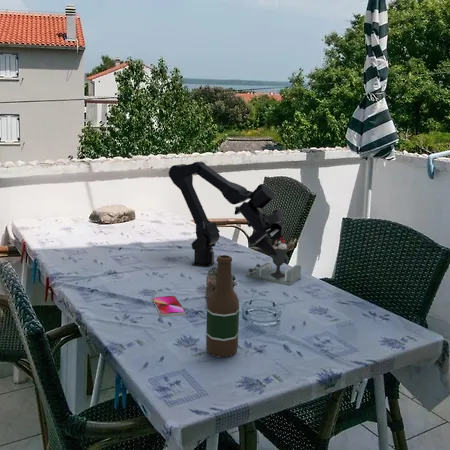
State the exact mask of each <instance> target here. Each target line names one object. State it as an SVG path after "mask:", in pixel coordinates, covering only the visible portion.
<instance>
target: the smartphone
mask: <svg viewBox="0 0 450 450" xmlns="http://www.w3.org/2000/svg"><path fill="white" fill-rule="evenodd" d="M151 301H152V302H154V303H153V304H155V305H154V306H155V308H156V310H157V312H158V314H159V315H160V316H161V317H165V318H166V317H173V316H174V317H175V316H184V315H186V313H187V312H186V309H185V308H184V307H183V305H182V304H181V302H180V301H179V300H178V298H177V297H176V296H175V295H168V296H167V295H165V296H156V297H155V296H154V297H152V298H151Z"/></svg>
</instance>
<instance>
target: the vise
mask: <svg viewBox="0 0 450 450" xmlns="http://www.w3.org/2000/svg"><path fill="white" fill-rule="evenodd" d="M276 270H277V269H273V262H272V263H271V262H265V263H263V264H262V265H261V264H259V263H257V264H256V265H255V266H254V267H250V268H248V272H247V273H246V274H245V277H246V278H250V279H255V280H260V281H265V282H270V283H277V284H281V285H285V286H291V285H292V284H295V282H297V281H298V280H300V279H301V278H302V274H301V272H302V265H299V264H295V265H293V266H291V267H290V268H288V269H287V270H285V271H281V270H280V272H281V273H283V274H285V276H284V277H273V276H271V274H272V273H275V272H276Z"/></svg>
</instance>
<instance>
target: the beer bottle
mask: <svg viewBox="0 0 450 450" xmlns="http://www.w3.org/2000/svg"><path fill="white" fill-rule="evenodd" d="M216 262H217V266H216V267H217V268H216V276H215V285H214V289H213V291H212V292H211V293H210V295H209V297H208V300H207V306H206V331H205V332H206V333H205V334H206V336H205V340H206V341H205V346H206V352H207V351H208V352H209V354H210V355H211V356H212V355H214V356H213V357H215V356H220V357H219V358H221V357H225V358H227V357H226V356H229V357H231V356H230V355H233V356H235V354H236V352H237V351H238V346H239V325H240V323H239V321H240V300H239V298H238V295H237V294H236V292H235V290H234V289H233V288H234V287H233V283H232V279H233V278H232V262H233V258H232V256H230V255H226V254H223V255H222V254H221V255H218V256H217V257H216ZM208 352H207V353H208Z"/></svg>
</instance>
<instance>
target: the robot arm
mask: <svg viewBox="0 0 450 450" xmlns="http://www.w3.org/2000/svg"><path fill="white" fill-rule="evenodd" d="M193 175H198V176H199V177H200V178H202V179H203V180H204V181H206V182H208V183H209V184H210V185H211V186H213V187H214V188H216V189H217V190H218V191H219V192H220V193H221V195H222V196H223V198H224V199H225V200H226V201H227V202H228V203H229V204H231V205H238V204H241V205H238V206H235V207H234V209H235V210H234V215H235V216H236V215H240V214H241V215H242V216H243V218H244V219H245V220H246V222H248V224H247V227H248V228H252V230H253V231H254V232H253V233H251V235H249V236H248V237H247V242H248V243H249V244H250V246H253V247H256V248H258V249H260V250H262V251H264V252H265V253H266V252H267V254H268V253H269V254H270V255H271V256H272V255H274V256H276V255H277V253H276V251H275V249H274V248H273V246H272V242H271V241H272V240H274V241H276V240H277V239H280V238H283V237H284V238H283V240H284V241H285V244H286V245H287V242H286V239H285V235H284V230H285V224H284V223H283V222H282V221H283V220H284V217H283V216H284V212H283V211H282V210H280V208H277V209H275V210H273V211H272V213H271V214H269V215H267V213H265V212H261V210H260V209H264V208H266V206H268V205H269V204H270V203H271V202H272V201H273V200H274V199H275V198H276V197H275V193H274V191H273V190H272V189H271V188H269V187H267V186H266V185H264V184H263V183H261V184H259V185H258V186H257V187H256V188H255V189H253V191H252V190H251V191H250V190H248V189H247V187H245V186H242V185H241V184H239V183H236V182H233V181H230V180H228V179H227V178H226V177H223V176H222V175H221V174H220V173H218V172H217V171H215V170H214V169H212V168H211V167H210V166H209V165H207V164H206V163H205V162H204V161H201V160H200V161H195V162H193V163H189V164H187V163H181V164H174V165H172V166H171V167H169V171H168V176H169V179H170V180H171V182H172V183H173V185H174V186H176V187H177V188H178V189H179V191H181V194H182V197H183V199H184V201H185V203H186V206H187V208H188V210H189V212H190V215H191V217H192V219H193V221H194V224H195V235H196V238H195V240H194V241H192V242H191V248H192V250H194V252H193V253H194V260H193V261H194V262H192V266H199V267H200V266H201V267H211V265H213V264H214V263H215V252H214V247H215V246H216V244H217V243H218V241H219V239H220V230H219V228H218V226H217V222H215V221H214V222H211V221H210V220H209V218H208V217H207V214H206V212H205V210H204V206H203V205H202V203H201V201H200V199H199V195H197V192H196V190H195V189H196V188H195V187H194V185H193V182H194V181H193V180H194V179H193V178H194V177H193ZM247 200H248V201H247ZM283 235H284V236H283ZM282 236H283V237H282ZM270 240H271V241H270ZM287 246H288V245H287Z"/></svg>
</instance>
